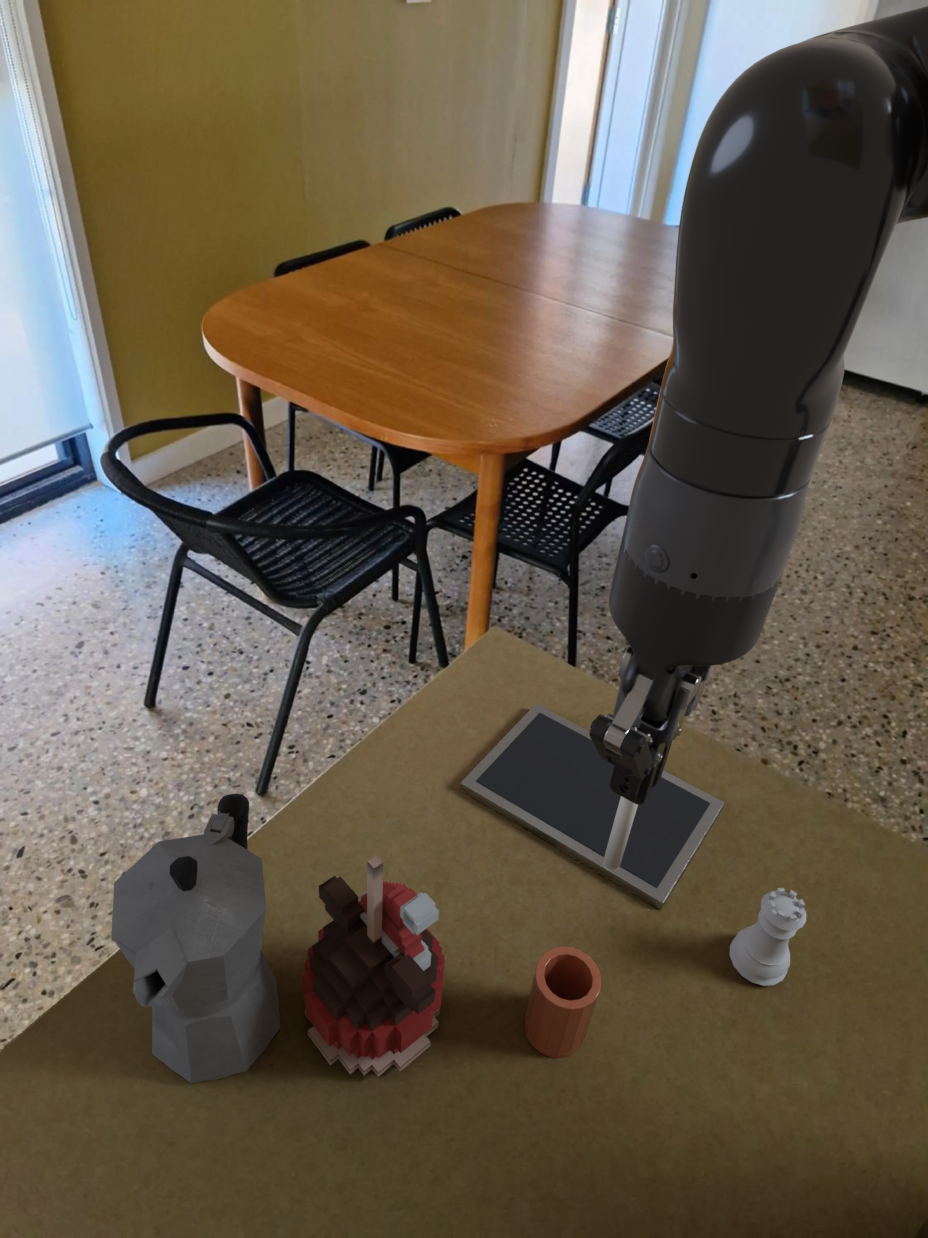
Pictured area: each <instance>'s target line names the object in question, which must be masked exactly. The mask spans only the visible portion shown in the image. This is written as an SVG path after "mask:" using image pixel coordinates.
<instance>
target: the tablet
mask: <svg viewBox="0 0 928 1238" xmlns="http://www.w3.org/2000/svg"><path fill="white" fill-rule="evenodd" d="M589 733H590V730H588V729H587V728H584V727H582V726H581V725H578V724H577V723H575V722H573V721H571V720H569V719H567V718H566V717H564V716H562V715H560V714H558V713H556V712H554V711H552V710H550V709H548V708H547V707H545V706H542V705H541V704H539V703H535V704H534V705H533V706H532V707H531V708H530V709H529V710H528V711H527V712H526V714H524V715H523V716H522V718H521V719H520V720H519V721H518V722H516V724H515V725H514V726H513V727H512V728H511V729H510V730H509V731H508V732H507V733H506V734H505V736H504V737H503V738H501V740H500V741H499V742H497V744H496V745H495V746H493V748H492V749H491V750H490V751H489V752H488V753H487V754H486V755H485V756H484V757H483V759H481V761H479V763H478V764H477V765H476V766H475V767H473V769H472V770H471V771H470V772H469V773H468V774H467V775H466V776H465V778H463V780H462V781H461V782H460V785H459V786H460V787H459V790H460V791H461V792H463V793H465V794H466V795H468V796H470V797H471V798H473V799H475V800H477V801H478V802H479V803H482V804H483V805H484V806H486V807H488V808H490V809H491V810H493V811H494V812H497V813H498V814H500V815H501V816H503V817H504V818H506V819H508V820H510V821H512V822H513V823H515V824H516V825H518V826H520V827H522V828H523V829H524V830H527V831H528V832H530V833H531V834H533V835H534V836H535V837H536V836H537V837H538V838H540V839H541V840H543V841H545V842H546V843H548V844H549V845H551V846H553V847H554V848H557V849H558V850H560V851H561V852H563V853H565V854H567V855H568V856H570V857H571V858H573V859H575V860H577V861H578V862H580V863H582V864H583V865H584V866H586V867H588V868H589V869H592V870H593V871H594V872H596V873H598V874H600V875H601V876H603V877H605V878H607V879H608V880H610V881H611V882H613V883H615V884H616V885H618V886H619V887H622V888H623V889H625V890H626V891H628V892H630V893H632V894H633V895H635V896H637V897H638V898H639V899H642V900H643V901H645V902H646V903H648V904H649V905H651V906H653V907H655V908H657V909H658V910H662V909H663V907H664V905H665V904H666V903H667V901H668V899H669V898H670V895H671V894H672V892H673V891H674V889H675V887H676V886H677V884H678V882H679V881H680V880H681V877H682V876H683V875H684V872H685V871H686V870H687V868H688V867H689V864H690V863H691V861H692V860H693V858H694V857H695V855H696V853H697V851H698V850H699V848H700V847H701V845H702V843H703V842H704V840H705V839H706V837H707V835H708V834H709V832H710V830H711V829H712V827H713V825H714V824H715V822H716V821H717V819H718V818H719V815H720V814H721V812H722V811H723V809H724V806H725V802H724V801H723V800H721V799H719V798H717V797H715V796H714V795H712V794H709V793H707V792H706V791H703V790H702V789H700V788H698V787H696V786H694V785H692V784H691V783H689V782H687V781H685V780H683V779H681V778H679V777H678V776H676V775H673V774H671V773H670V772H668V771H666V770H663V773H662V776H661V778H660V780H659V781H658V783H657V784H656V786H654V787H651V790H650V793H649V796H648V797H647V799H646V800H645V802H644V803H643V804H641V805H638V807H637V810H636V814H635V817H634V820H633V824H632V827H631V830H630V834H629V837H628V840H627V844H626V847H625V850H624V854H623V857H622V861H621V864H620V867H619V868H618V869H617V870H616V871H609V870H607V869H606V868H605V867H604V865H603V859H604V856H605V852H606V849H607V845H608V841H609V838H610V834H611V830H612V827H613V823H614V820H615V816H616V812H617V809H618V805H619V802H620V798H621V796H620V795H618V794H616V793H615V792H613V791H612V789H611V788H610V781H611V778H612V774H613V770H614V765H612V764H611V763H609V762H607V761H605V760H603V759H601V757H600V755H599V753H598V751H597V749H596V747H595V745H594V743H593V741H592V739H591V738H590V735H589Z"/></svg>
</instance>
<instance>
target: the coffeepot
mask: <svg viewBox="0 0 928 1238" xmlns="http://www.w3.org/2000/svg"><path fill="white" fill-rule="evenodd" d="M249 801H250V800H249V799H248V797H246V795H244V794H242V793H230V794H225V795H223V796H222V797H221V799H220V800H219V801H218V804H217V809H216V810H217V814H216V813H211V814H210V815H211V816H210V817H209V819H208V822H207V824H206V826H205V828H204V831H203V834H197V835H190V836H184V837H178V838H171V839H166V840H158V841H157V843H155V844H154V845H153V846H152V847H151V848H150V849H149V850H147V852H146V853H144V854H143V855H142V856H141V857H140V858H139V859H138V860H137V861H136V862H135V863H134V864H133V865H131V866H130V867H129V868H128V869H127V870H126V871H125V872H124V873H123V874H122V875H120V877H118V879H117V880H115V881H114V883H113V897H112V916H111V917H112V918H111V932H110V933H111V935H110V936H111V939H112V940H113V941H114V943H115V944H116V946H117V947H118V948H119V950H120V951H121V953H122V954H123V955H124V957H125V959H126V960H127V961H128V963H129V965H130V966H131V967H132V969H133V970H134V974H133V986H132V993H133V995H134V998H135V999H136V1002H137V1003H138V1005H140V1006H141V1007H142V1008H146V1009H147V1008H151V1009H152V1010H151V1011H152V1012H151V1015H152V1016H151V1021H152V1022H151V1054H152V1055H153V1056H154V1057H155V1058H157V1059H158V1060H159V1061H160V1062H162V1063H163V1064H164V1065H165V1066H167V1068H168V1069H170V1071H172V1072H174V1073H176V1074H178V1075H179V1076H181V1077H182V1078H184V1079H185V1080H186V1081H187V1082H189V1083H190V1084H195V1083H201V1082H208V1081H209V1082H210V1081H216V1080H221V1079H226V1078H229V1077H231V1076H233V1075H236V1074H240V1073H241V1074H242V1073H245V1072H247V1071H248V1070H249V1069H250V1068H251V1066H252V1065H253V1064H254V1063H255V1061H256V1060H257V1059H258V1058H259V1057H260V1056H261V1055H262V1054H263V1053H264V1052H265V1051H266V1049H267V1048H268V1046H269V1045H270V1043H271V1041H272V1040H273V1038H274V1037H275V1036H276V1034H277V1033H278V1032H279V1030H280V1029H281V1027H282V1026H281V1024H282V1023H281V1015H280V1005H279V994H278V984H277V983H278V982H277V979H276V977H275V975H274V972H273V970H272V968H271V967H270V965H269V963H268V961H267V959H266V957H265V955H264V953H263V951H262V945H263V938H264V928H265V922H266V921H265V920H266V913H267V904H266V903H267V900H266V890H265V879H264V869H263V859H262V857H260V856H258V855H257V854H255V853H254V852H252V851H250V850H248V831H249V817H250V815H249V814H250V802H249Z"/></svg>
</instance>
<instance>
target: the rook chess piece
mask: <svg viewBox="0 0 928 1238" xmlns="http://www.w3.org/2000/svg"><path fill="white" fill-rule="evenodd" d="M797 895H798V892H796V891H794V890H793V889H790V891H789V892H787V891H786V889H785V887H778V888H777V889H776V890H773V891H769V892H767V893H766V894H764V895H763V897H762V898H761V900H760V910H759V911H758V914H757V916H758V917H757V918H758V919H757V921H756V922H755V923H754V924H752V925H748V926H746V927H743V929H741V930H739V931H738V932H737V934H736V935H735V937H734V938H733V940H732V941H731V943H730V945H729V957H730V960H731V963H732V966H733V967H734V968H735V970H736V971H737V972H738V973H739V974H740V976H741V977H743V978H744V979H746V980H747V981H748V982H751V983H753V984H757V985H760V986H763V987H765V986H775V985H777V984H779V983H780V982H783V981H784V979H785V978H786V976H787V973H788V970H789V968H790V967H791V951H790V949H789V948H790V947H789V942H790V939H791V938H793V937H794V936H795V935H796V933H797V931H798V930H800V929H801V928H803V927H804V926H805V924H806V923H807V911H806V909H805V906H806V903H805V901H804V899H803V898H801V899H798V898H797Z"/></svg>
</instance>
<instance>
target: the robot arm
mask: <svg viewBox="0 0 928 1238" xmlns="http://www.w3.org/2000/svg"><path fill="white" fill-rule="evenodd" d="M927 218H928V5H925V6H922V7H918V8H915V9H911V10H907V11H903V12H900V13H896V14H892V15H887V16H883V17H880V18H875V19H873V20H869V21H865V22H862V23H858V24H854V25H850V26H847V27H843V28H840V29H836V30H832V31H827V32H826V33H822V34H818V35H816V36H813V37H810V38H808V39H805V40H802V41H800V42H796V43H794V44H791V45H788V46H785V47H783V48H780V49H778V50H776V51H774V52H772V53H770V54H768V55H766V56H764V57H762V58H761V59H759V60H758V61H756V62H754V63H753V64H751V66H749V67H747V69H745V70H744V71H743V72H742V73H741V74H740V75H738V77H736V78H735V79H734V81H733V82H732V83H731V84H730V85H729V86H728V88H726V90H725V91H724V92H723V94H722V95H721V96H720V98H719V99H718V100H717V102H716V104H715V105H714V107H713V109H712V111H711V112H710V114H709V116H708V117H707V120H706V122H705V124H704V127H703V128H702V131H701V133H700V136H699V139H698V141H697V145H696V147H695V151H694V154H693V157H692V161H691V165H690V168H689V173H688V177H687V180H686V185H685V189H684V194H683V199H682V205H681V209H680V218H679V224H678V233H677V241H676V242H677V243H676V255H675V271H674V284H673V285H674V288H673V304H672V346H671V349H670V353H669V357H668V359H667V362H666V365H665V368H664V369H665V370H664V373H663V377H662V381H661V386H660V389H659V394H658V397H657V402H656V407H655V411H654V416H653V420H652V425H651V428H650V429H651V430H650V434H649V440H648V442H647V443H648V444H647V447H646V451H645V454H644V457H643V459H642V461H641V464H640V467H639V470H638V472H637V475H636V478H635V480H634V484H633V487H632V491H631V495H630V499H629V500H630V501H629V505H628V509H627V512H626V517H625V518H626V519H625V523H624V526H623V527H624V528H623V532H622V537H621V541H620V546H619V550H618V555H617V560H616V564H615V569H614V574H613V579H612V583H611V588H610V592H609V597H608V608H609V614H610V616H611V620H612V621H613V623H614V625H615V626H616V628H617V629H618V631H619V632H620V633H621V634H622V636H623V638H625V640H626V642H627V643H628V647H626V649H625V651H624V652H623V655H622V657H621V661H620V664H619V668H618V676H619V679H620V683H619V687H618V692H617V696H616V700H615V704H614V708H613V714H612V713H611V712H607V713H606V714H605V715H603V713H600V714H598V715H597V717H596V718H594V719H593V720H592V722H591V724H590V727H589V728H590V730H589V731H590V733H589V735H590V738H591V739H592V741H593V743H594V745H595V747H596V749H597V751H598V753H599V755H600V757H601V759H603V760H605V761H607V762H609V763H611V764H612V765H614V770H613V774H612V778H611V781H610V788H611V789H612V791H613V792H615V793H616V794H618V795H620V796H622V797H624V798H625V799H627V800H629V801H631V802H633V803H635V804H637V805H641V804H643V803H644V802H645V800H646V799H647V797H648V796H649V793H650V790H651V787H654V786H656V784H657V783H658V781H659V780H660V778H661V776H662V773H663V770H664V769H665V766H666V764H667V759H668V757H669V753H670V750H671V748H672V744H673V741H675V740H676V739H677V737H679V736H680V735H681V734H682V732H683V724H684V722H685V719H686V717H689V716H690V715H691V714H692V713H693V712H694V711H695V710H696V708H697V706H698V704H699V703H700V701H701V698H702V695H703V692H704V689H705V686H706V683H707V680H708V679H709V677H710V676H711V674H712V673H713V671H714V670H715V669H716V667H717V666H719V665H725V664H728V663H731V662H733V661H736V660H739V659H740V658H742V657H743V656H745V655H746V654H747V653H749V652H750V651H751V650H752V649H753V648H754V647H755V646H756V644H757V643H758V641H759V639H760V637H761V634H762V631H763V628H764V626H765V623H766V621H767V618H768V615H769V612H770V609H771V607H772V604H773V601H774V598H775V596H776V594H777V591H778V588H779V584H780V582H781V579H782V576H783V573H784V571H785V568H786V565H787V562H788V560H789V557H790V555H791V552H792V549H793V546H794V543H795V540H796V539H797V535H798V532H799V530H800V525H801V522H802V518H803V514H804V509H805V503H806V497H807V492H808V488H809V486H810V485H809V484H810V483H811V482H810V481H811V479H812V476H813V473H814V470H815V468H816V465H817V462H818V460H819V455H820V453H821V451H822V448H823V445H824V443H825V439H826V436H827V434H828V431H829V428H830V426H831V423H832V421H833V420H832V419H833V417H834V414H835V411H836V407H837V405H838V401H839V398H840V394H841V391H842V390H841V389H842V385H843V380H844V375H845V367H846V365H845V353H846V351H847V349H848V346H849V343H850V341H851V338H852V336H853V333H854V330H855V329H856V327H857V326H856V325H857V323H858V321H859V318H860V315H861V313H862V310H863V309H864V305H865V303H866V301H867V297H868V295H869V292H870V290H871V287H872V285H873V282H874V280H875V277H876V275H877V271H878V270H879V267H880V264H881V263H882V259H883V257H884V255H885V252H886V250H887V248H888V245H889V242H890V240H891V237H892V235H893V232H894V230H895V227H896V225H899V224H903V223H906V222H911V221H917V220H921V219H927ZM650 737H651V738H652V742H651V741H649V739H650ZM664 771H665V770H664Z"/></svg>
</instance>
